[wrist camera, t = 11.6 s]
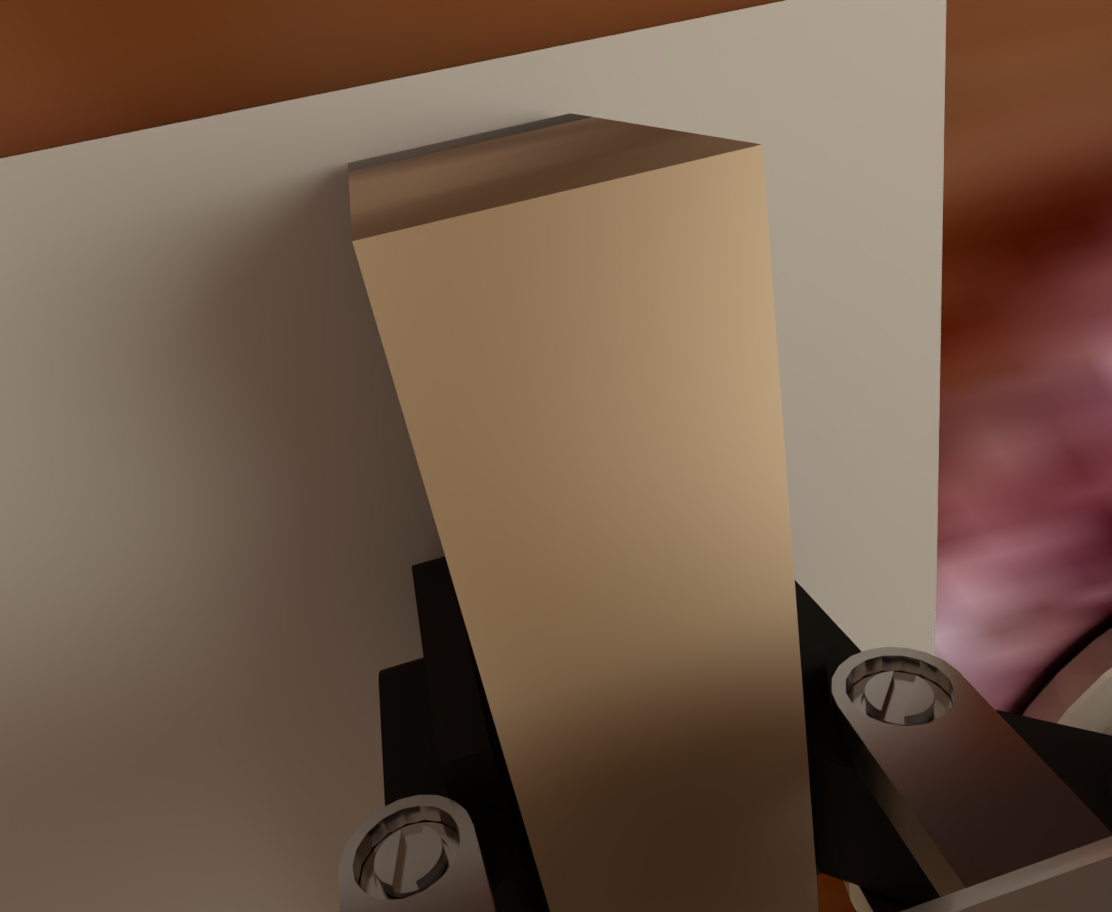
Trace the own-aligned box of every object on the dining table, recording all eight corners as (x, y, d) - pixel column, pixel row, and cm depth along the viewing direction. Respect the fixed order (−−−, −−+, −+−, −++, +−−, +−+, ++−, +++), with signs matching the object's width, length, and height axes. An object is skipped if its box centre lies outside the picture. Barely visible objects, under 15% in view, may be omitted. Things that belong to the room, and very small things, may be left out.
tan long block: (569, 113, 10) (762, 144, 5) (696, 862, 15) (838, 1179, 11) (347, 163, 9) (351, 241, 5) (561, 908, 15) (651, 1254, 11)
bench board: (790, 0, 14) (946, -32, 10) (826, 660, 20) (932, 784, 16) (-588, 277, 11) (-1020, 364, 8) (-67, 947, 17) (-173, 1171, 14)
